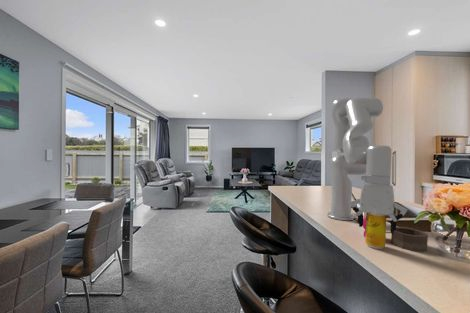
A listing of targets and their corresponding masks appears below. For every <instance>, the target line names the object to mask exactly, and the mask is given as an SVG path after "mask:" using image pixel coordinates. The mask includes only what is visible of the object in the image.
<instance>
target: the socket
mask: <svg viewBox="0 0 470 313" xmlns="http://www.w3.org/2000/svg"><path fill="white" fill-rule="evenodd" d="M390 237H391V241H390V243H391V244H392V245H393V246H395V247H399V248H401V249H403V250H408V251H413V252H425V251H428V238H429V234H428V233H427V232H425V231H423V230H418V229H416V228H410V227H404V226H396V231H394V233H391V236H390Z"/></svg>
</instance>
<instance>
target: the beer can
mask: <svg viewBox="0 0 470 313" xmlns="http://www.w3.org/2000/svg"><path fill="white" fill-rule="evenodd" d="M365 214H366V215H365V217H366V237H364V238H365V239H364V240H365V244H366V246H367V247H369V248H370V249H374V250H383V249H384V248H385V247H386V235H387V215H381V214H378V213H376V209H374V212H372V213H369V212H366V213H365Z"/></svg>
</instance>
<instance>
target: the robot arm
mask: <svg viewBox="0 0 470 313" xmlns="http://www.w3.org/2000/svg"><path fill="white" fill-rule="evenodd" d="M383 110H384V105H383V101H381V99H380V98H378V97H343V98H338V99H335V100H334V101H333V102H332V105H331V117H332V121H333V125H334V126H333V127H334V133H333V135H334V137H333V143H334V144H333V146H334V151H335V152H337V153H342V154H343V155H336V156H333V157H332V158H331V159H330V170H331V171H330V172H331V190H330V191H331V194H330V195H331V197H330V212H329V211H328V212H327V217H329V218H331V219H333V220H337V221H353V220H354V219H355V216H354V215H352V210H353V211H354V212H355V213H356V215H357V224H358V227H359V228H363V221H364V214H363V213H364V212H365V213H367V212H369V213H372V212H374V209H376V213H378V214H381V215H386V216H389V217H390V219H391V221H390V233H391V234H392V233H394V231H396V227H398V226H397V225H398V224H397V222H398V221H400V220H401V219H403V217H404V216H405V215H406V213H407V212H408V209H407V208H405V207H404V206H401V205H400V204H399V203H396V202H395V192H394V187H393V185H391V182H392V180H391V178H392V177H391V175H392V174H391V173H392V172H391V171H392V148H391V146H389V145H370V142H369V139H368V137H367V136H366V134H368V133H369V132H370V131H371V130H372V129H373V127H374V123H373V119H372V118H378V117H379V116H381V115H382V113H383ZM349 175H354V176H361V178H360V179H361V180H362V181H364V182H365V183H362V186H361V190H360V191H361V192H360V198H358V199H355V200H352V198H353V197H352V196H353V183H352V181H351V180H350V178H349ZM357 204H359V208H358V207H357ZM395 209H397V210H399V211H400V213H398V214H397V215H396V214H395V213H394V212H395Z"/></svg>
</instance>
